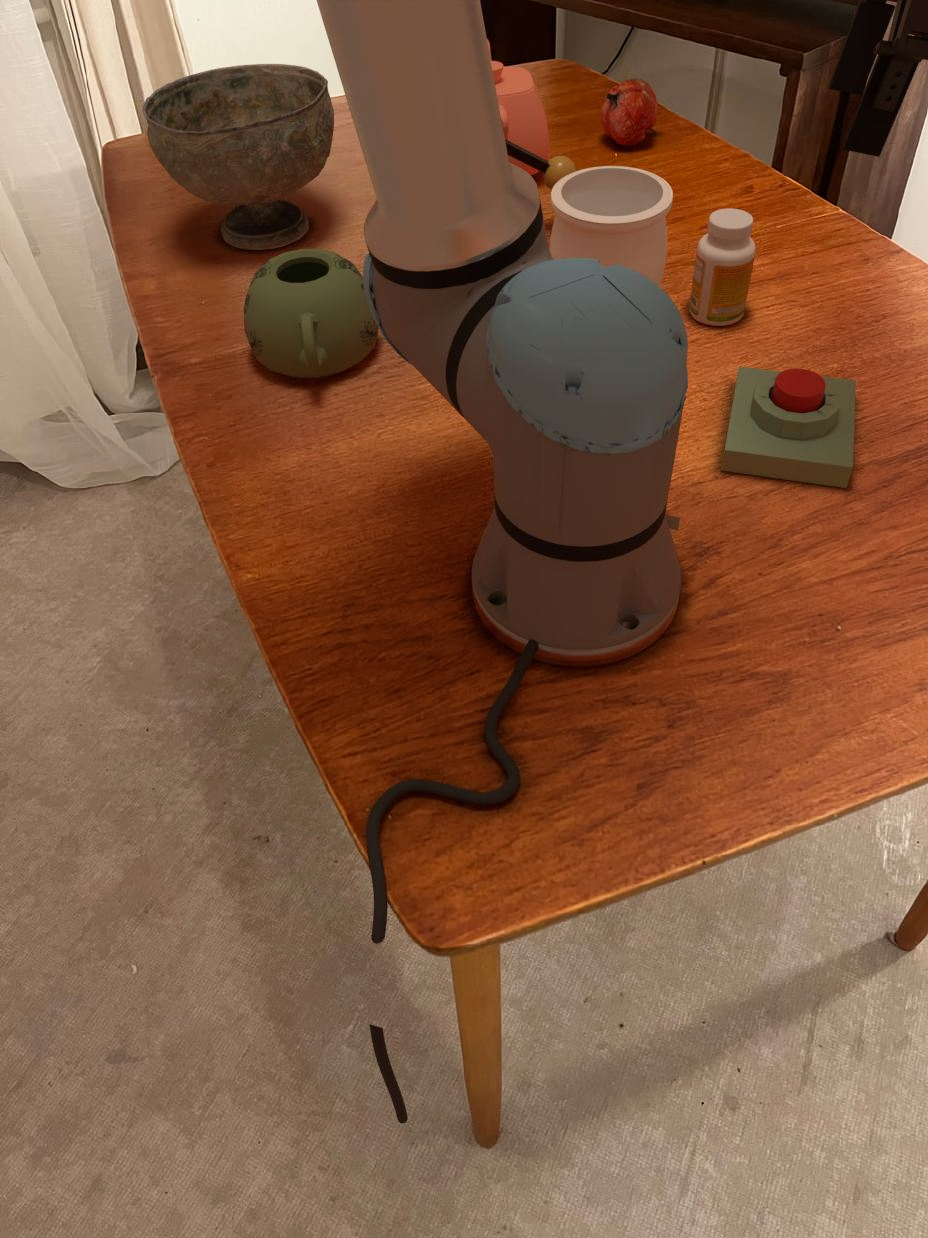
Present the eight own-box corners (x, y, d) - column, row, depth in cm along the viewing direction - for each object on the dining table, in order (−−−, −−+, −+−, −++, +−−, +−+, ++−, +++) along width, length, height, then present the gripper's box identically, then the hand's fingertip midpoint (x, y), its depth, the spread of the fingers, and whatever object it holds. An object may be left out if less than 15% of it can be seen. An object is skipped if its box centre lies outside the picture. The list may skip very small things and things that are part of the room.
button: (820, 417, 80) (825, 399, 78) (769, 410, 80) (773, 393, 79) (822, 388, 82) (827, 371, 81) (773, 382, 83) (777, 365, 82)
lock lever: (561, 188, 109) (579, 158, 106) (567, 203, 106) (585, 173, 104) (457, 135, 103) (473, 102, 101) (460, 150, 101) (477, 116, 99)
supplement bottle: (754, 310, 97) (773, 215, 90) (724, 334, 94) (740, 237, 87) (708, 292, 100) (722, 198, 92) (677, 315, 97) (689, 220, 90)
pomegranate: (628, 142, 129) (574, 104, 123) (667, 92, 125) (613, 50, 119) (648, 172, 125) (594, 134, 119) (689, 121, 120) (634, 80, 114)
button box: (846, 488, 79) (859, 449, 76) (720, 470, 81) (728, 431, 78) (850, 401, 87) (861, 362, 84) (734, 386, 89) (742, 348, 86)
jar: (651, 382, 90) (669, 224, 79) (539, 373, 92) (541, 217, 80) (659, 319, 97) (677, 166, 85) (555, 312, 98) (559, 160, 87)
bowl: (327, 177, 121) (307, 43, 110) (366, 249, 109) (348, 106, 97) (167, 207, 117) (129, 72, 106) (189, 285, 105) (149, 141, 94)
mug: (251, 320, 100) (232, 239, 93) (377, 306, 100) (367, 225, 94) (249, 415, 89) (228, 331, 83) (390, 398, 90) (380, 314, 83)
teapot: (535, 131, 127) (536, 26, 118) (558, 201, 114) (562, 90, 105) (432, 139, 127) (426, 35, 118) (444, 211, 114) (437, 100, 104)
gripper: (1100, -195, 54) (921, 192, 69) (1008, -241, 71) (881, 77, 86) (964, -220, 54) (816, 170, 69) (904, -260, 71) (796, 60, 86)
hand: (852, 119), depth 78 cm, fingers open, 13 cm apart
